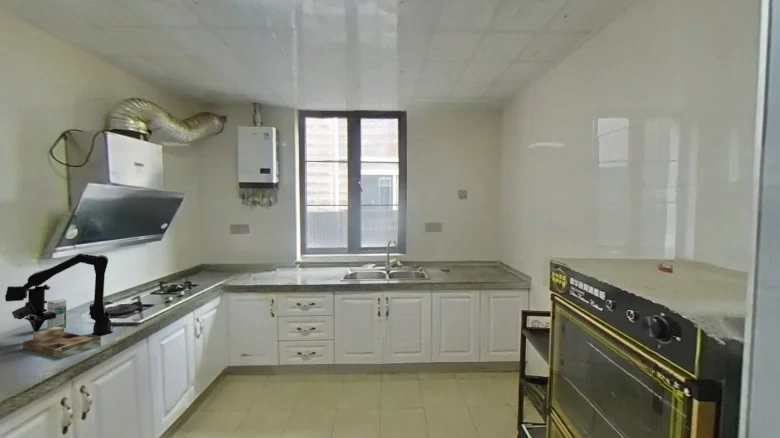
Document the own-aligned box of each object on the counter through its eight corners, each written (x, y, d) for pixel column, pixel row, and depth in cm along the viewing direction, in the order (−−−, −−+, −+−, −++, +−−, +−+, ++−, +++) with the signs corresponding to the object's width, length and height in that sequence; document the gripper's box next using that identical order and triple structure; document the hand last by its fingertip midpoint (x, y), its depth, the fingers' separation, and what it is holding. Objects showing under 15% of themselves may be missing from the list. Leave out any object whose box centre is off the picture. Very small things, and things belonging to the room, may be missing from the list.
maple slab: (56, 333, 185) (56, 326, 185) (63, 335, 184) (64, 328, 184) (33, 339, 176) (33, 332, 176) (40, 341, 175) (40, 333, 175)
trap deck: (62, 337, 189) (63, 328, 189) (100, 345, 181) (100, 336, 180) (23, 348, 174) (23, 338, 173) (62, 358, 165) (62, 347, 165)
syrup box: (53, 330, 198) (54, 302, 198) (46, 328, 200) (47, 300, 200) (66, 327, 204) (66, 299, 203) (59, 325, 206) (60, 298, 205)
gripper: (2, 300, 178) (2, 334, 178) (28, 305, 172) (28, 340, 172) (31, 295, 188) (30, 327, 189) (57, 300, 182) (56, 333, 183)
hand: (36, 332), depth 183 cm, fingers closed
